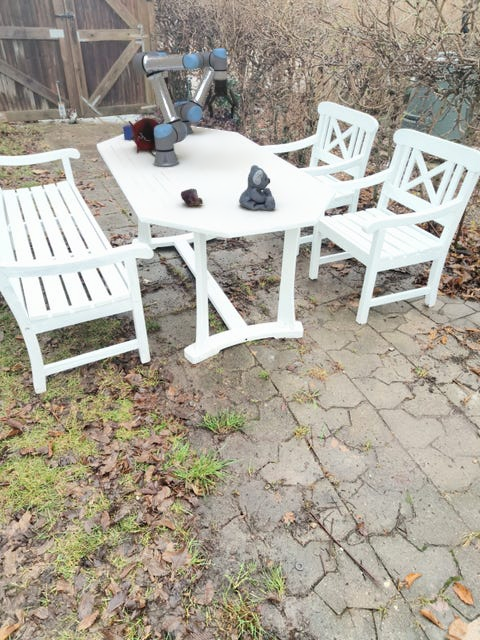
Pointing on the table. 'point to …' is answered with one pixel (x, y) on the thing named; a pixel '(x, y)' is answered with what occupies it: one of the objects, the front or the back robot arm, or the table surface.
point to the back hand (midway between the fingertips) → (165, 109)
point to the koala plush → (257, 191)
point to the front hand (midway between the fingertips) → (221, 118)
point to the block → (127, 132)
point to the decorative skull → (144, 134)
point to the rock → (191, 197)
